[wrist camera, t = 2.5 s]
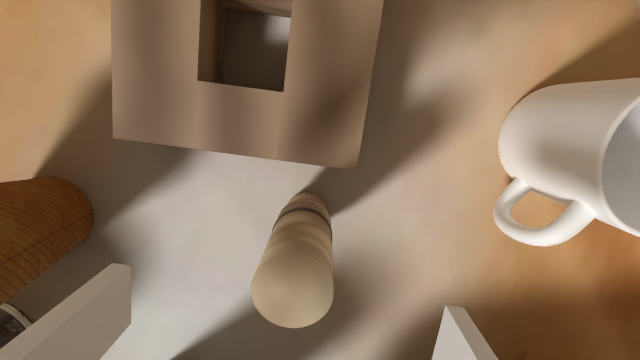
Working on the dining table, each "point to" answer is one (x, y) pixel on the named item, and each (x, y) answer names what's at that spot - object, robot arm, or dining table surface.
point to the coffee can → (12, 320)
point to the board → (242, 102)
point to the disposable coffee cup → (38, 228)
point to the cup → (573, 158)
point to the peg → (296, 265)
